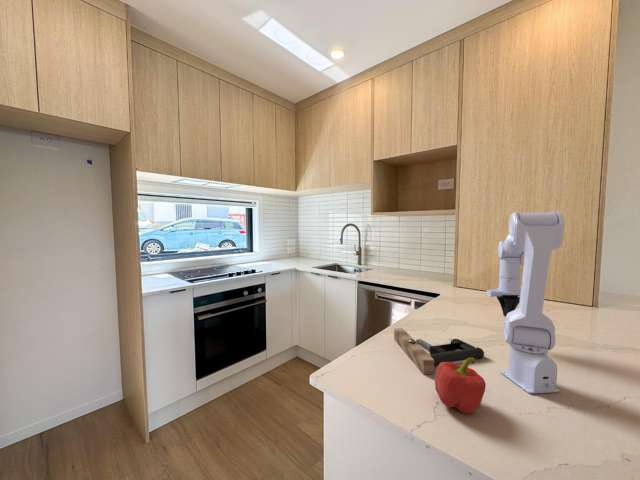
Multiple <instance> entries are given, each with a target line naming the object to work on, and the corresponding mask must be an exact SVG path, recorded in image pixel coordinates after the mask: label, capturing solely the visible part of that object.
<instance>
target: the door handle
mask: <svg viewBox="0 0 640 480" xmlns="http://www.w3.org/2000/svg"><path fill="white" fill-rule="evenodd" d="M415 341H416V342H417V343H418V344H419V345H420V346H421V347H422V348H423V349H424V350H425V351H426V352H427V353H429V355H430V356H431V357H432V358H433V359H434V366H438V365H439V364H440V363H441V362H454V363H455V364H463V362H464V361H465V360H466V359H468V358H474V360H475V359H482V358H483V357H484V356H485V351H484V350H483V349H482V348H481V347H475V346H474V345H472V344H469V343H467V342H465V341H463V340H461V339H459V338H453V339H451V340H450V343H446V344H444V343H443V344H439V345H432V344H430V343H428V342H427V341H425V340H424V339H421V338H417V339H416V340H415Z"/></svg>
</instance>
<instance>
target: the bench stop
mask: <svg viewBox="0 0 640 480" xmlns="http://www.w3.org/2000/svg"><path fill="white" fill-rule="evenodd" d="M393 329H394V330H393V340H394V342H396V343H397V345H398V346H399V347H400V348H401V350H402V351H403V352H404V353H405V354H406V356H407V357H408V358H409V359H410V360H411V362H412V363H413V364H414V366H416V368H417V369H418V370H419V372H420V373H422V375H434V374H435V365H434V359H433V358H432V357H431V356H430V355H431V354H430V353H429V352H428V351H427V350H426V349H424V348H423V347H421V346H420V345H419V344H418V343H417V342H416V340H415V339H414V338H413V337H412V336H411V335H410V334H409V333H408V331H406V330H405V329H404V328H403V327H397V328H396V327H395V328H393Z"/></svg>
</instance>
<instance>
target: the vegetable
mask: <svg viewBox="0 0 640 480" xmlns="http://www.w3.org/2000/svg"><path fill="white" fill-rule="evenodd" d="M471 363H473V364H475V363H476V362H475V359H474V358H468V359H466V360H465V361H464V362H462V363H461V365H458V363H456V364H455V363H454V362H441V363H440V364H439V365H437V367H436V370H435V377H434V387H435V391H436V393H437V395H438V397H439V399H440V402H441V403H442V404H444V405H445V406H446V407H448V408H456V409H457V410H458V411H460V412H461V413H463V414H471V413H474V412H476V410H478V409H479V408H480V406H481V404H482V401H483V398H484V394H485V391H486V384H487V383H486V382H485V379H484V378H483V376H481V375H480V374H479V373H478V372H477V371H476V370H475V369H473V368H471V367H469V365H470V364H471Z"/></svg>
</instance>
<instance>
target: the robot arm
mask: <svg viewBox="0 0 640 480" xmlns="http://www.w3.org/2000/svg"><path fill="white" fill-rule="evenodd" d="M508 232H509V234H508V235H507V236H506V238H505V240H500V241H499V243H498V248H497V255H498V258H499V271H498V272H499V274H498V278H499V279H498V287H497V288H494V289H487V290H486V297H489V298H495V297H496V299H497V300H498V303H499V305H500V306H501V307H500V308H501V310H502V315H503V317H505V319H504V322H503V339H504V341H505V342H506V344H508V345H509V359H508V361H509V363H508V364H509V365H508V369H506V370H505V369H504V370H500V373H501V374H502V375H503V376H505V377H507V378H508V379H509V380H510V381H512V382H513V383H514V384H515V385H517V386H518V387H519V388H521V389H523V390H524V391H525V392H526V393H528V394H530V395H533V394H548V393H559V392H560V389H558V388H557V383H558V382H557V379H558V378H557V377H558V365H557V363H556V362H555V361H554V360H553V359H552V358H551V357H549V356H548V354H549V351H551V350H553V349H554V348H555V346H556V327H555V325H554V323H553V321H552V319H551V318H550V317H549V316H547V315H545V314H544V313H543V309H544V301H545V294H546V289H547V281H548V274H549V269H550V268H549V267H550V260H551V257H552V253H553V251H554V250H556V249H559V248H561V245H562V242H563V238H564V232H565V221H564V216H563V214H561V212H559V211H552V212H548V211H547V212H543V211H542V212H515V211H514V212H512V213H511V214H510V216H509V221H508ZM523 260H524V261H523ZM522 265H523V269H522V270H521V268H522V267H521V266H522ZM521 271H522V278H521ZM521 279H522V280H521ZM520 286H521V287H520ZM517 307H518V308H517Z"/></svg>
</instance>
